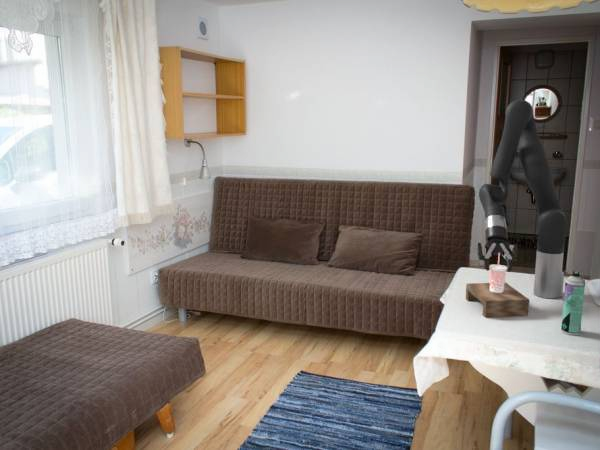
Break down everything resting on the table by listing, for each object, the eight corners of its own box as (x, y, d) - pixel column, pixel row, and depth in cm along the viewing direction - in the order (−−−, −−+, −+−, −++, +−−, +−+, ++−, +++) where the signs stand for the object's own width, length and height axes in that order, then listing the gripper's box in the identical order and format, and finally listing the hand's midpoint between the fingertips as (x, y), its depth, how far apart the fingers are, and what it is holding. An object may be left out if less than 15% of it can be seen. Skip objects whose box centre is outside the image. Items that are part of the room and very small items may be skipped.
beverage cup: (508, 293, 194) (511, 254, 192) (490, 293, 194) (493, 254, 192) (501, 288, 200) (504, 250, 198) (485, 288, 200) (487, 250, 198)
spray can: (576, 328, 178) (581, 269, 174) (582, 335, 173) (589, 274, 169) (558, 328, 179) (563, 269, 175) (564, 335, 173) (570, 274, 169)
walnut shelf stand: (504, 297, 208) (505, 282, 207) (528, 316, 190) (529, 299, 188) (465, 298, 207) (466, 283, 206) (485, 317, 189) (486, 300, 188)
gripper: (476, 224, 201) (478, 264, 192) (518, 225, 198) (522, 266, 189) (474, 235, 207) (476, 274, 198) (514, 236, 204) (518, 276, 196)
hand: (498, 270), depth 194 cm, fingers open, 6 cm apart
